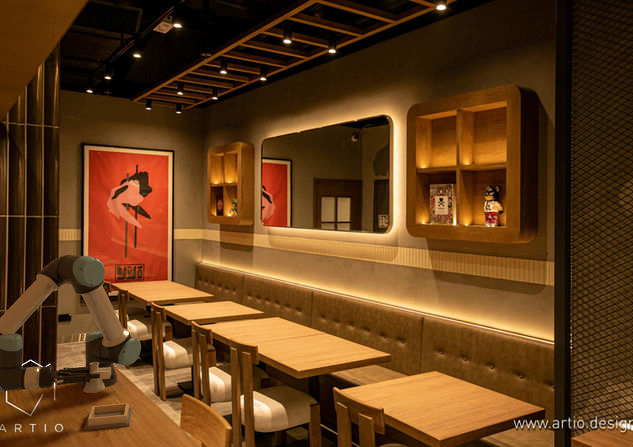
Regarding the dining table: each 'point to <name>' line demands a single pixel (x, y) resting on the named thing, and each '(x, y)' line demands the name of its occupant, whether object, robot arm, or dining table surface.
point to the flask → (94, 381)
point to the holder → (109, 416)
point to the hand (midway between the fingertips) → (110, 372)
